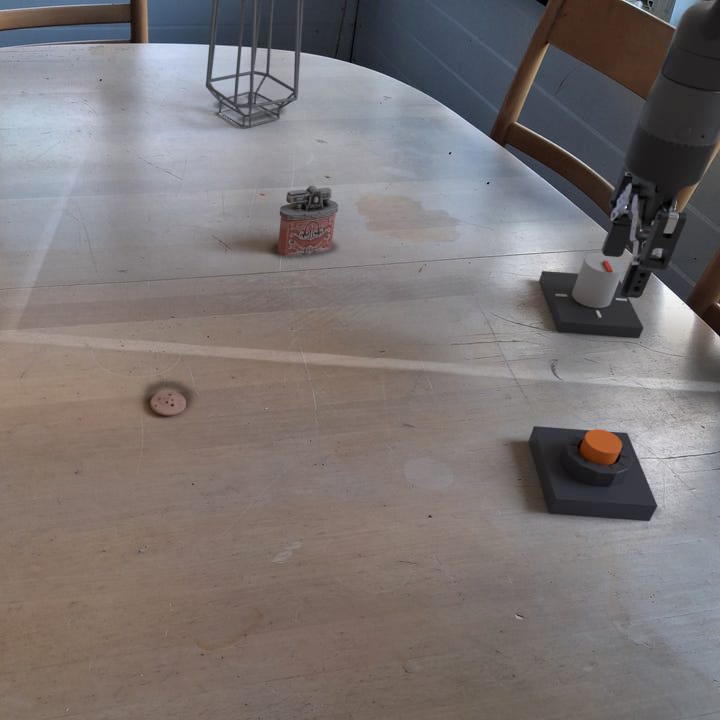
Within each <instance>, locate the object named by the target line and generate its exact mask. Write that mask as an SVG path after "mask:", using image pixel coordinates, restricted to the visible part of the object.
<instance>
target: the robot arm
mask: <svg viewBox="0 0 720 720" xmlns="http://www.w3.org/2000/svg"><path fill="white" fill-rule="evenodd" d="M719 140H720V0H704V1H699V2H695V3H693V4H692V5H690V6H689V7H687V8H686V9H685V11H683V13H682V15H681V16H680V19H679V21H678V22H677V25H676V27H675V30H674V32H673V35H672V37H671V39H670V42H669V45H668V48H667V50H666V53H665V55H664V59H663V61H662V64H661V67H660V69H659V72H658V74H657V76H656V79H655V80H654V82H653V84H652V86H651V88H650V89H649V91H648V94H647V97H646V99H645V102H644V104H643V107H642V109H641V112H640V115H639V118H638V121H637V123H636V125H635V129H634V131H633V134H632V137H631V139H630V142H629V145H628V147H627V151H626V153H625V156H624V159H623V167H622V169H621V171H620V174H619V176H618V179H617V182H616V184H615V187H614V189H613V192H612V194H611V196H610V199H609V201H608V205H609V206H608V208H609V209H612V211H611V214H610V221H612V222H611V223H610V226H609V229H608V231H607V234H606V237H605V239H604V242H603V245H602V247H601V253H603V255H605V256H611V257H616V258H620V257H622V256H623V255H624V252H625V249H626V247H627V245H628V242H629V240H630V242H632V244H633V247H632V254H631V261H630V262H629V265H628V267H627V269H626V272H625V275H624V277H623V279H622V282H621V286H620V289H619V291H620V294H621V296H623V297H628V298H632V299H638V298H640V297H642V296H643V294H644V292H645V289H646V286H647V284H648V282H649V279H650V278H651V276H652V273H653V271H658V272H665V271H666V270H667V268H668V266H669V264H670V261H671V258H672V256H673V254H674V251H675V248H676V246H677V244H678V241H679V240H680V236H681V234H682V232H683V229H684V227H685V225H686V222H687V217H688V216H687V212H681V211H680V212H679V211H677V204H678V202H677V201H678V197H679V193H680V192H681V191H682V190H685V189H686V188H688V187H693V186H695V185H697V184H698V183H700V181H701V180H702V179H703V177H704V175H705V172H706V169H707V168H708V166H709V163H710V160H711V158H712V156H713V154H714V152H715V150H716V147H717V145H718V142H719ZM643 231H649V233H647V232H646V233H645V232H643Z"/></svg>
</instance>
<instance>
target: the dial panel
mask: <svg viewBox="0 0 720 720" xmlns="http://www.w3.org/2000/svg"><path fill="white" fill-rule="evenodd" d="M578 275H579V273H574V272H561V271H551V270H550V271H549V270H547V271H546V270H542V271H541V274H540V277H539V279H538V283H539V285H540V288H541V291H542V293H543V296H544V299H545V301H546V305H547V307H548V309H549V311H550V315H551V317H552V320H553V323H554V325H555V328H556V331H557V333H559V334H561V333H562V334H574V335H590V336H601V337H602V336H603V337H617V338H629V339H640V337H641V335H642V333H643V330H644V326H643V324H642V322H641V320H640V318H639V316H638V314H637V311H636V310H635V307H634V306H633V304H632V302H631V299H630V297H623V296H621V294H620V291H619V289H620V286H621V284H622V282H621V279H620V280H619V283H618V285H617V288H616V290H615V293H614V295H613V298H612V300H611V303H610V305H608V306H607V307H604V308H592V307H587V306H584V305H582V304H580V303H578V302H577V301H576V300H575V299H574V298H573V297H572V291H573V289H574V286H575V283H576V280H577V277H578Z"/></svg>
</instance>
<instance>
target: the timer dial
mask: <svg viewBox="0 0 720 720" xmlns="http://www.w3.org/2000/svg"><path fill="white" fill-rule="evenodd" d="M581 263H582V264H581V267H580V269H579V272H578V274H579V275H578V277H577V280H576V283H575V286H574V289H573V291H572V297H573V298H574V299H575V300H576V301H577V302H578V303H580V304H582V305H584V306H587V307H592V308H604V307H607V306H608V305H610V303H611V300H612V298H613V295H614V293H615V290H616V288H617V285H618V283H619V280H620V281H621V278H622V275H623V272H624V270H625V264H624V262H623V261H622V260H621V259H620V258H619V257H611V256H605V255H603V252H591V253H588V254H586V255H585V256H584V258H583V261H582V262H581Z"/></svg>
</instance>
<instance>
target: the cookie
mask: <svg viewBox="0 0 720 720" xmlns="http://www.w3.org/2000/svg"><path fill="white" fill-rule="evenodd" d="M149 405H150V408H151V410H153V411H154V412H155V413H156V414H159V415H161V416H171V417H172V416H175V415H178V414H180V413H182V412H183V411H184V410H185V408H186V406H187V401H186V399H185V397H184V396H183V395H182V394H180V393H179V392H176V391H170V390H169V391H167V390H165V391H160V392H157V393H156V394H154V395H153V396H152V397H151V399H150V403H149Z"/></svg>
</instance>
